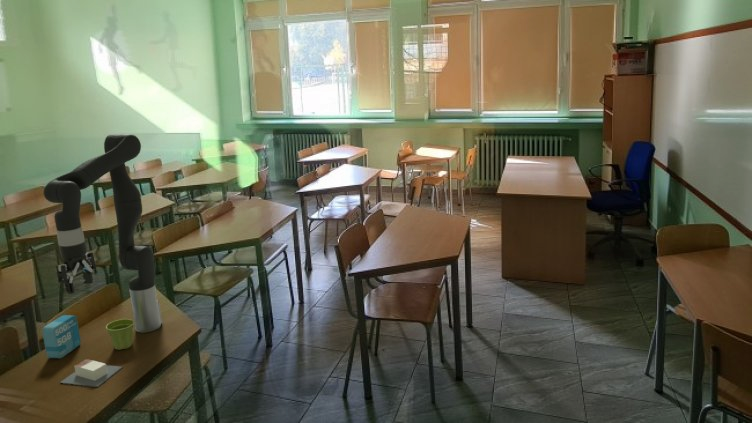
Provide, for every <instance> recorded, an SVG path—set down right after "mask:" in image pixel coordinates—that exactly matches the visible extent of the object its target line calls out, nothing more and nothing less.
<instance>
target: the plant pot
mask: <svg viewBox="0 0 752 423" xmlns="http://www.w3.org/2000/svg"><path fill="white" fill-rule="evenodd" d="M134 325H135V322H134V319H131V318H130V319H129V318H120V319H117V320H113V321H111V322H108V323H107V325H106V326H105V330H107V332H108V334H109V336H110V339H111V343H112V345H113V348H114V350H123V349H125V350H127V349H128V348H130V347H132V346H133V329H134Z"/></svg>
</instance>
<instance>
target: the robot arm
mask: <svg viewBox="0 0 752 423" xmlns="http://www.w3.org/2000/svg"><path fill="white" fill-rule="evenodd" d="M103 149H104V153H103V154H100V155H97V156H95V157H92V158H91V159H90V158H89V159H88V160H86V161H84V162H82V163H81V164H79V165H78V166H77V167H75V168H74V169H73V170H71V171H69V172H66V173H64V174H62V175H60V176H58V177H55V178H53V179H52V180H50V181H48V183H47V184H46V185H45V186H44V189H43V196H44V198H45V200H47V201H48V202H49V203H54V204H62V209H61V210H58V211H56V212H55V213H54V222H55V227H56V238H57V242H58V248H59V249H58V250H59V252H60V257H61V258H62V259H63V263H62V264H58V265H56V266H55V267H56V268H55V269H56V275H57V282H58V283H59V284H64V287H65V292H66V293H67V294H71V295H73V294H74V293H75V287H74V282H73V279H74V277H76V275H77V274H78V273H79V272H80V271H83V272H84V273H83V274H84V279H85V280H84V281H85V284H88V285H91V284H93V283H94V281H93V280H94V278H93V270H96V268H97V264H96V261H95V257H94V252H92V251H91V252H90V251H89V252H88V250H87V246H86V240H85V239H86V238H85V235H84V231H83V228H82V223H81V217H80V210H81V201H82V200H81V199H82V192H81V190H86V189H87V188H89V187H90V186H92V185H93V184H94V183H96V182H97V181H98V180H99V179H100V178H102V177H103V176H105V175H106V174H108V173H109V176H110V181H111V187H112V196H113V203H114V211H115V215H116V216H115V217H116V223H117V225H116V226H117V232H118V256H119V257H118V258H119V262H120V265H121V267H122V268H123V269H124V270H127V271H137V273H138V276H135V277H132V278H131V279H130V280H129V281H128V288H129V289H128V290H129V295H130V302H131V306H132V314H133V321H134V328H135V332H137V333H139V334H140V333H141V334H143V333H144V334H145V333H150V332H154V331H157V330H158V329H160V328H161V326H162V324H163V320H162V314H161V306H160V301H159V300H158V295H157V289H156V280H155V279H156V268H155V267H156V266H155V255H154V252H153V250H152V249H151V247H149V246H147V245H135V230H136V227H137V225H138V223H139V221H140V219H141V217H142V214H143V204H142V196H141V193H140V191H139V189H138V187H137V185H136V184H135V183H134V181H133V180H132V178H131V177H130V175H129V173H128V170H127V167H126V163H127V162H129V161H131V160H134V159H135V158H137V157H138V156H139V154H140V153H141V151H142V150H141V149H142V144H141V141H140V139H139V137H137V136H136V135H135V134H130V133H112V134H108V135H107V136H106V137H105V138H104V142H103Z"/></svg>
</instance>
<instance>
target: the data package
mask: <svg viewBox="0 0 752 423" xmlns="http://www.w3.org/2000/svg"><path fill="white" fill-rule="evenodd" d="M41 332H42V333H41V334H42V338H43V343H44V349H45V352H46V357H47V358H49V359H62V358H64V357H65V356H67V355H68V354H69V353H70V352H72V351H74V349H76V348H78V347H79V346H80V344H81V342H82V340H81V335H80V334H81V333H80V328H79V324H78V319H77V316H76V315H72V314H71V315H70V314H69V315H66V314H63V315H61V316H59V317H58V318H56V319H55V320H53V321H52V322H49V323H47V324H46V325H45V326H43V327H42V330H41Z"/></svg>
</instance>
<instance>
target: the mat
mask: <svg viewBox="0 0 752 423" xmlns="http://www.w3.org/2000/svg"><path fill="white" fill-rule="evenodd" d="M106 367H107V373H108V374H106V375H104V376H102V377H101V378H99V379H97V380H95V381H94V380H90V379H87V378H84V377H80V376H77V375H76V372H75V371H73V373H71V374H70V375H68V376H67V377H66V378H64V379H62V380H61V381H60V383H59V384H61V383H63V385H71V384H73V385H72V386H81V385H82V387H92V388H99V387H100V386H101V385H103V384H104V383H105V382H106V381H108V380H109V379H110V378H112V377H113V376H114V375H116V374H117V373H118V372H120V371H121V370H122V369H123V366H118V365H107V364H106Z"/></svg>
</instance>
